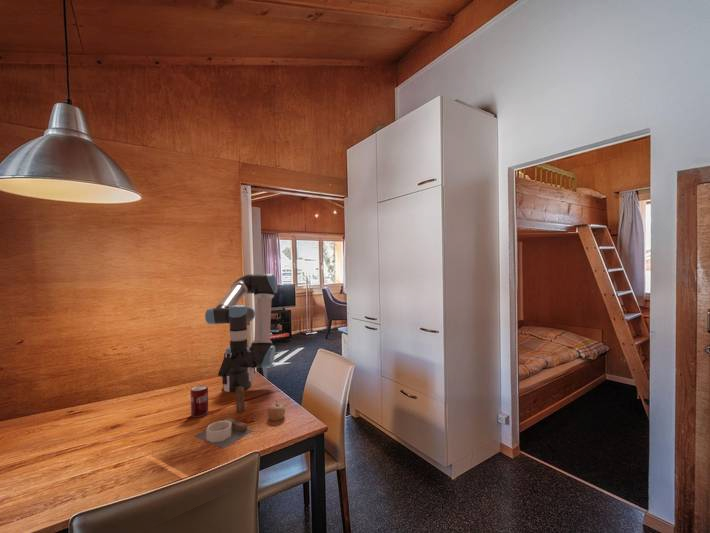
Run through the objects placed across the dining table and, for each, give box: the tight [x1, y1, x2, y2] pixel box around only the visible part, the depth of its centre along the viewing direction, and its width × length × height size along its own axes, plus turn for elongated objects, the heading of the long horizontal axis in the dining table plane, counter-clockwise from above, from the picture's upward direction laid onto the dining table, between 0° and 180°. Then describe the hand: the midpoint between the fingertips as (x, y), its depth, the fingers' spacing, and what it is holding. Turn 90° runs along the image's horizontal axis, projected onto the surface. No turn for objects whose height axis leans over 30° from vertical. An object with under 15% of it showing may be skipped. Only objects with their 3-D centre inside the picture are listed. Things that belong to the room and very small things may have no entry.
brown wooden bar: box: [235, 386, 245, 414], centre depth 145 cm, size 2×2×12 cm
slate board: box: [194, 428, 254, 449], centre depth 126 cm, size 14×18×1 cm
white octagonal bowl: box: [205, 420, 232, 442], centre depth 124 cm, size 9×9×4 cm
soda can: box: [189, 384, 209, 418], centre depth 146 cm, size 7×7×12 cm
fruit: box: [267, 400, 286, 422], centre depth 138 cm, size 8×7×8 cm
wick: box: [222, 416, 248, 433], centre depth 130 cm, size 12×2×2 cm, turn 59°
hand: (239, 386), depth 144 cm, fingers open, 13 cm apart
